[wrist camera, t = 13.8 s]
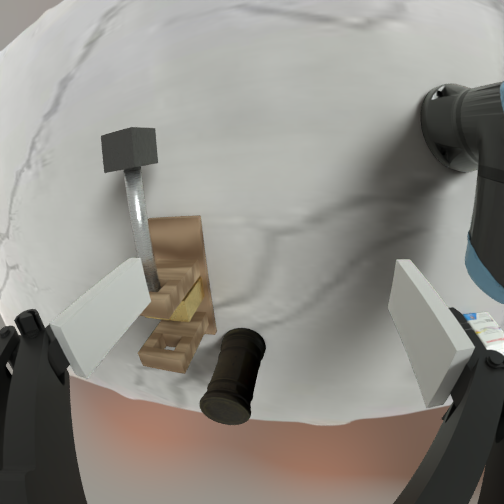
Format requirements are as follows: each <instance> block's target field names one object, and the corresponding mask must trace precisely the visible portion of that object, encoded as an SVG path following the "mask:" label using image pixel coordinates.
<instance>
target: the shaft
mask: <svg viewBox="0 0 504 504" xmlns="http://www.w3.org/2000/svg"><path fill="white" fill-rule="evenodd" d="M101 142H102V154H103V164H104V172H105V173H107V172H112V171H117V170H124V179H125V186H126V194H127V200H128V207H129V213H130V219H131V225H132V230H133V235H134V241H135V245H136V250H137V255H138V258H141V262H142V266H143V271H144V275H145V279H146V283H147V287H148V291H149V292H159V291H160V289H161V285H160V281H159V276H158V272H157V267H156V262H155V257H154V252H153V247H152V242H151V236H150V230H149V225H148V218H147V212H146V205H145V198H144V191H143V183H142V175H141V166H144V165H149V164H155V163H158V157H157V146H156V134H155V128H137V127H131V128H127V129H123V130H119V131H116V132H112V133H109V134H106V135H102V136H101Z"/></svg>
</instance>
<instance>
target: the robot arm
mask: <svg viewBox="0 0 504 504" xmlns="http://www.w3.org/2000/svg"><path fill="white" fill-rule="evenodd" d="M421 125H422V131H423V134H424V138H425V140H426V143H427V145H428V147H429V149H430V150H431V152H432V153H433V155H434V156H435V157H436V158H437V159H438V160H439V161H440V162H441V163H442V164H443V165H445V166H446V167H448V168H450V169H453V170H457V171H461V172H472V171H475V170H478V176H477V185H476V194H475V201H474V208H473V214H472V220H471V226H470V230H469V232H468V236H467V237H468V244H467V249H466V255H465V265H466V268H467V271H468V274H469V275H470V277H471V279H472V280H473V281H474V283H475V284H476V285H477V286H478V287H479V288H480V289H481V290H482V291H483V292H484V293H486V294H487V295H488V296H490V297H491V298H492V299H494V300H496V301H497V302H499V303H501V304H504V81H503V82H499V83H494V84H489V85H485V86H481V87H476V88H473V89H471V88H468V87H465V86H461V85H457V84H444V85H441V86H438V87H436V88H434V89H433V90H431V91H430V92H429V93H428V95H427V96H426V98H425V100H424V102H423V105H422V110H421ZM150 302H151V299H150V295H149V291H148V287H147V283H146V279H145V275H144V271H143V266H142V262H141V258H129V259H127V260H126V261H125V262H123V263H122V264H121V265H120V266H118V267H117V268H116V269H114V270H113V271H112V272H111V273H109V274H108V275H107V276H105V277H104V278H103V279H102V280H100V281H99V282H98V283H97V284H95V285H94V286H93V287H92V288H91V289H89V290H88V291H87V292H86V293H84V294H83V295H82V296H81V297H80V298H78V299H77V300H76V301H75V302H74V303H72V304H71V305H70V306H69V307H68V308H67V309H65V310H64V311H63V312H62V313H61V314H60V315H59V316H57V317H56V318H55V319H54V320H53V321H52V322H51V323H50V324H49V325H48V326H47V327H46V328H45V327H44V325H43V323H42V320H41V318H40V316H39V313H38V311H37V310H35V309H30V310H26V311H24V312H22V313H21V314H19V315H18V316H17V317H16V318H15V320H14V321H15V323H16V325H17V327H18V329H19V331H20V333H21V335H18V333H17V331H16V329H15V327H14V326H5V327H3V328H2V329H1V330H0V504H87V501H86V498H85V494H84V490H83V486H82V482H81V477H80V473H79V468H78V463H77V457H76V451H75V444H74V437H73V429H72V419H71V405H70V382H69V372H68V371H67V369H66V368H67V367H68V366H69V365H70V366H71V367H72V369H73V371H74V373H75V374H76V375H78V376H81V377H83V378H86V379H88V377H89V376H90V375H91V374H92V372H93V371H94V370H95V368H96V367H97V366H98V365H99V363H100V362H101V361H102V360H103V358H104V357H105V356H106V355H107V354H108V352H109V351H110V350H111V349H112V347H113V346H114V345H115V344H116V343H117V341H118V340H119V339H120V338H121V336H122V335H123V334H124V333H125V332H126V330H127V329H128V328H129V327H130V326H131V325H132V323H133V322H134V321H135V320H136V319H137V317H138V316H139V315H140V314H141V313H142V312H143V310H144V309H145V308H146V307H147V306H148V305H149V303H150ZM388 310H389V312H390V315H391V317H392V319H393V321H394V324H395V326H396V328H397V330H398V333H399V335H400V338H401V340H402V342H403V345H404V347H405V350H406V352H407V355H408V357H409V360H410V363H411V365H412V368H413V371H414V373H415V376H416V379H417V382H418V384H419V387H420V390H421V393H422V396H423V399H424V402H425V405H426V408H430V407H434V406H439V405H443V404H444V403H445V401H446V400H447V398H448V397H449V395H450V394H451V396H452V399H453V403H452V404H451V406H450V407H449V409H448V410H447V412H446V413H445V415H444V416H443V417H442V420H444V421H443V423H442V425H441V427H440V429H439V431H438V433H437V435H436V437H435V440H434V441H433V443H432V445H431V447H430V448H429V450H428V452H427V454H426V455H425V457H424V459H423V461H422V462H421V464H420V466H419V467H418V469H417V470H416V472H415V474H414V475H413V477H412V478H411V480H410V481H409V483H408V484H407V486H406V487H405V489H404V490H403V491H402V493H401V494H400V495H399V497H398V498H397V499H396V501H395V502H394V503H393V504H468V503H469V501H470V499H471V497H472V495H473V493H474V491H475V489H476V487H477V484H478V482H479V480H480V477H481V475H482V472H483V470H484V467H485V472H484V477H483V483H482V487H481V492H480V496H479V500H478V504H504V356H503V355H502V354H501V353H500V352H498V351H495V350H491V349H490V350H487V349H486V347H485V346H484V344H483V343H482V341H481V340H480V338H479V337H478V336H477V334H476V333H475V331H474V330H473V329H472V327H471V326H470V324H469V323H467V322H468V321H467V320H466V319H465V317H464V316H463V315H462V314H461V313H460V312H459V311H457V310H456V309H455V308H448V307H447V305H446V304H445V303H444V301H443V300H442V299H441V297H440V296H439V295H438V293H437V292H436V291H435V290H434V288H433V287H432V286H431V284H430V283H429V282H428V281H427V279H426V278H425V277H424V276H423V274H422V273H421V272H420V271H419V270H418V268H417V267H416V266H415V265H414V264H413V262H412V261H411V260H410V259H396V264H395V271H394V277H393V283H392V288H391V293H390V299H389V303H388ZM7 362H9V364H10V366H11V367H12V369H13V374H12V375H11V373H10V372H9V370H8V369H7V367H6V364H7ZM485 465H486V466H485Z"/></svg>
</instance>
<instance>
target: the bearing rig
mask: <svg viewBox="0 0 504 504" xmlns="http://www.w3.org/2000/svg"><path fill="white" fill-rule="evenodd" d="M148 225H149V230H150V236H151V242H152V247H153V252H154V257H155V262H156V267H157V272H158V276H159V281H160V285H161V289H160V291H159V292H149V295H150V299H151V302H150V303H149V305H148V306H147V307H146V308H145V309H144V310H143V312H142V313H141V314H140V315H139V316H147V317H155V318H164V319H169V318H170V317H171V315H172V314H173V313H174V311H175V310H176V308H177V307H178V306H179V304H180V303H181V301H182V300H183V298H184V297H185V296H186V294H187V293H188V291H189V290H190V289H191V287H192V286H193V285H194V283H195V282H196V280H197V279H198V278H199V277H202V281H203V288H204V294H205V297H204V298H203V300H202V302H201V303H200V305H199V307H198V308H197V310H196V312H195V313H194V315H193V317H192V318H191V320H190V322H181V321H172V320H163V319H162V320H161V321H160V323H159V324H158V326H157V327H156V328H155V330H154V331H153V332H152V334H151V335H150V337H149V338H148V339H147V341H146V342H145V344H144V345H143V346H142V348H141V349H140V351H139V352H138V355H139V357H140V360H141V362H142V364H143V366H147V367H152V368H157V369H162V370H167V371H172V372H178V373H184V374H185V372H186V370H187V368H188V366H189V364H190V362H191V360H192V358H193V356H194V354H195V352H196V350H197V348H198V346H199V344H200V342H201V340H202V337H203V335H204V334H212V335H215V334H216V332H217V329H216V323H215V317H214V311H213V304H212V298H211V291H210V284H209V278H208V271H207V263H206V256H205V248H204V240H203V232H202V224H201V216H180V217H161V218H149V219H148ZM166 346H169V347H176V348H175V350H174V351H172V350H165V347H166Z"/></svg>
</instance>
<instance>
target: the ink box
mask: <svg viewBox="0 0 504 504" xmlns="http://www.w3.org/2000/svg"><path fill="white" fill-rule="evenodd" d="M463 316H464V317H465V319H466V320H467V321H468V322H467V323H469V324H470V326H471V327H472V329H473V330H474V331H475V333H476V334H477V336H478V337H479V338H480V340H481V341H482V343H483V344H484V346H485V347H486V349H487V350H490V349H491V350H495V351H498V352H500V353H501V354H502V355H504V332H503V331H502V329H501V328H500V327H499V326H498V324H497V323H496V322H495V321H494V319H493V318H492V317H491V316H490V314H489V313H488V312H480V313H472V314H463Z"/></svg>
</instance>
